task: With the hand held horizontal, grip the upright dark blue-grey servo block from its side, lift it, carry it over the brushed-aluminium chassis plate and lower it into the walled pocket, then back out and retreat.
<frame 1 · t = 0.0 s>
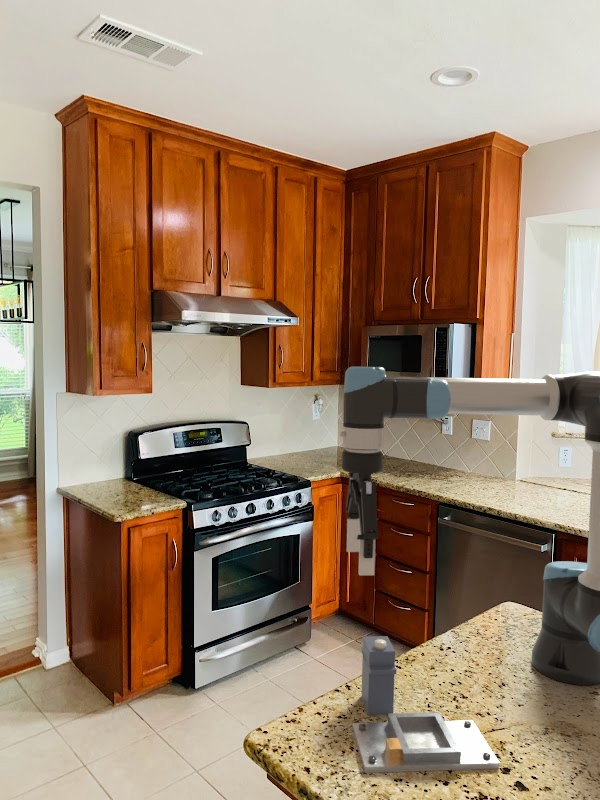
hand: (359, 562, 116), 28 cm above the countertop, tool pointing down, fingers open, 13 cm apart
chassis: (422, 747, 106), on the countertop
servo: (376, 705, 119), on the countertop
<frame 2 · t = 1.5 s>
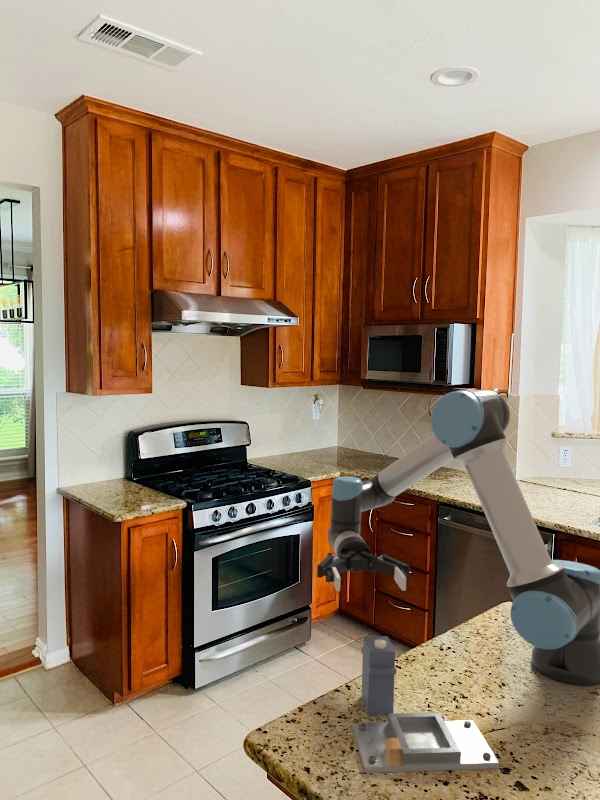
hand: (371, 584, 126), 20 cm above the countertop, tool horizontal, fingers open, 13 cm apart
nothing on the countertop moved.
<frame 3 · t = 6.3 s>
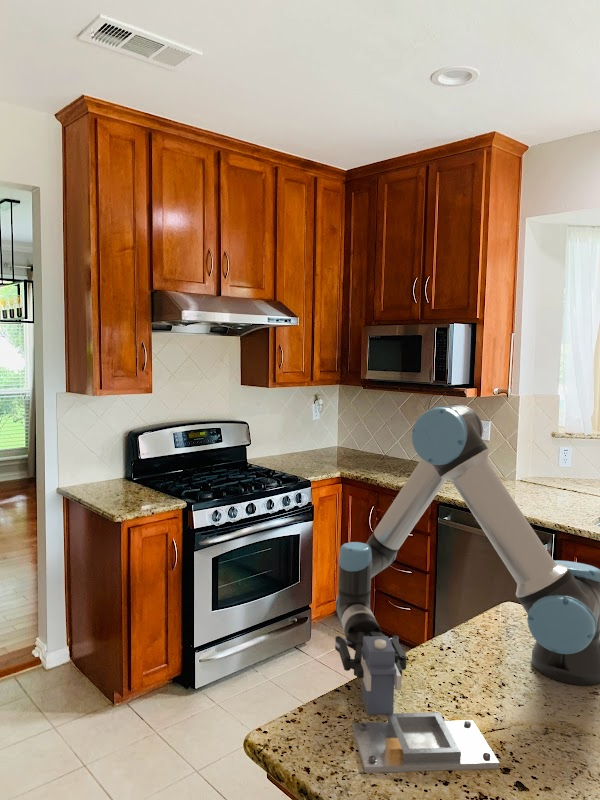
hand: (384, 683, 113), 7 cm above the countertop, tool horizontal, fingers closed on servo, 5 cm apart
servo: (376, 704, 119), on the countertop, touching gripper
when the fingers open (9 cm above the countertop, at t = 10.8 s): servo drops 1 cm, resting on chassis.
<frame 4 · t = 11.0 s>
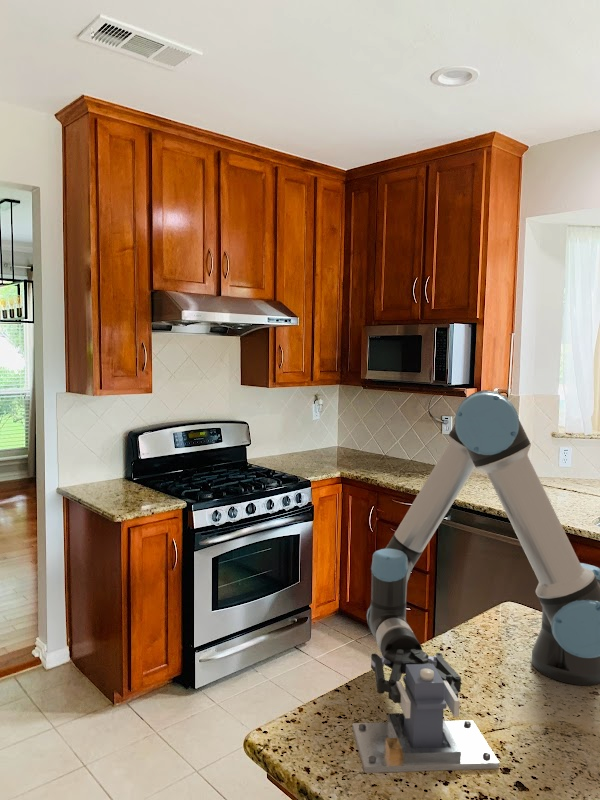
hand: (432, 709, 100), 9 cm above the countertop, tool horizontal, fingers open, 7 cm apart
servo: (422, 741, 106), point 1 cm above the countertop, touching chassis
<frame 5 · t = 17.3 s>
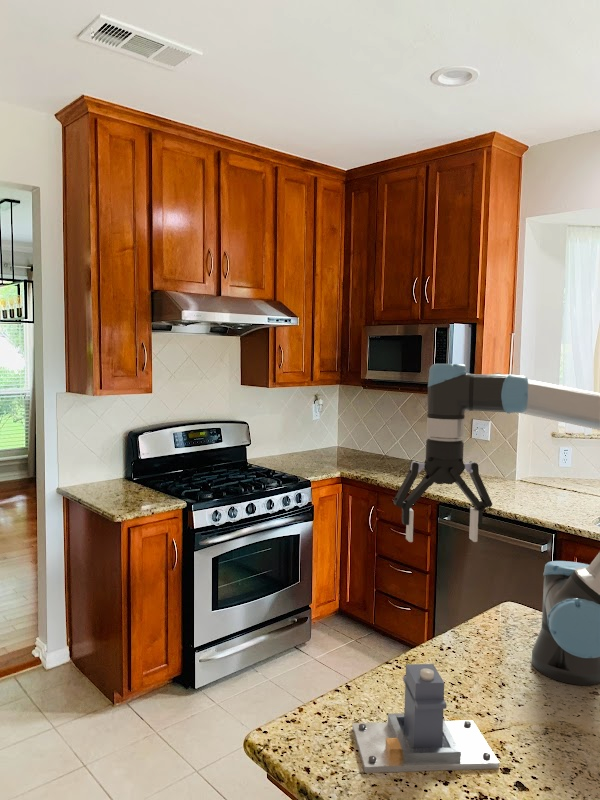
hand: (441, 540, 129), 29 cm above the countertop, tool pointing down, fingers open, 13 cm apart
nothing on the countertop moved.
at the end: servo 0.0 cm off-centre on the chassis, point 1.0 cm above the chassis's base; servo tilted 0°; the gripper is holding nothing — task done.
